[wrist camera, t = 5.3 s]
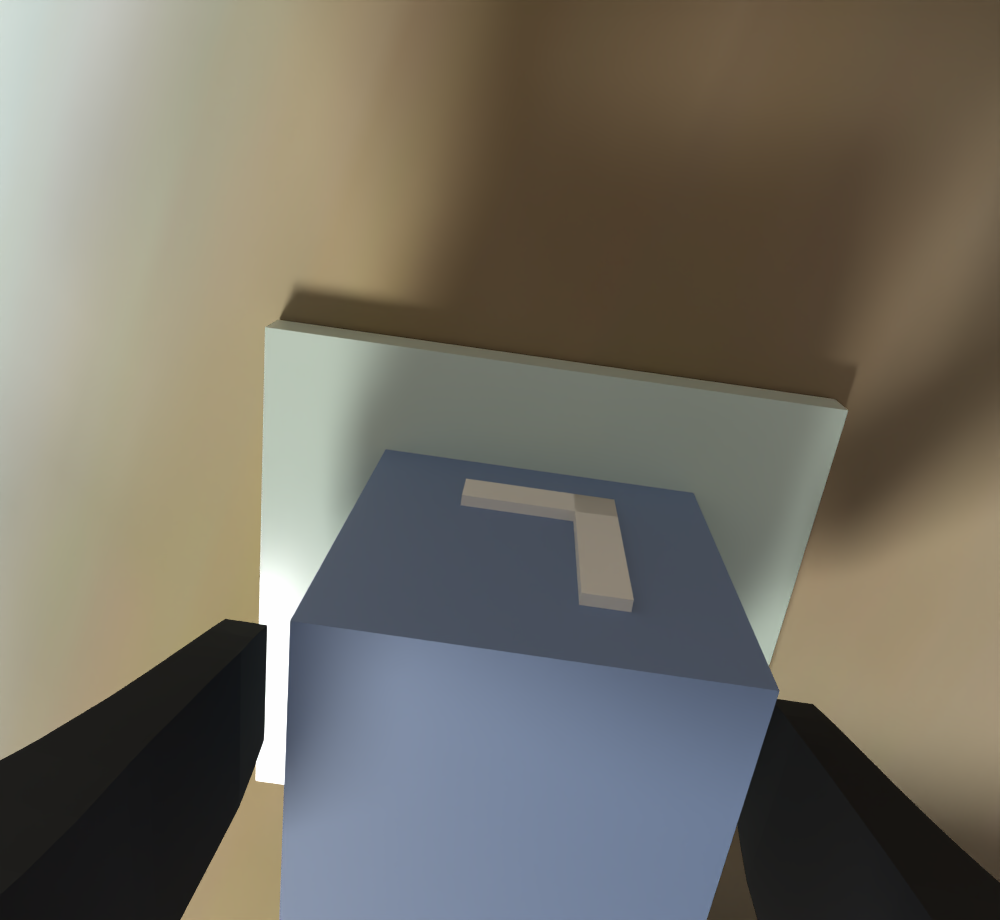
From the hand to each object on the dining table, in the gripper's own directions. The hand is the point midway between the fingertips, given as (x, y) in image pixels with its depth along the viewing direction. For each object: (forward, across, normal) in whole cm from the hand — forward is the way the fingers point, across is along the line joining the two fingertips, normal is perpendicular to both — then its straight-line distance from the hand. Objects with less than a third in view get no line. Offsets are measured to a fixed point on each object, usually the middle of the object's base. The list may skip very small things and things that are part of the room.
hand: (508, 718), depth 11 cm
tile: (+3, 0, 0) cm, 3 cm away
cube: (+3, 0, 0) cm, 3 cm away
